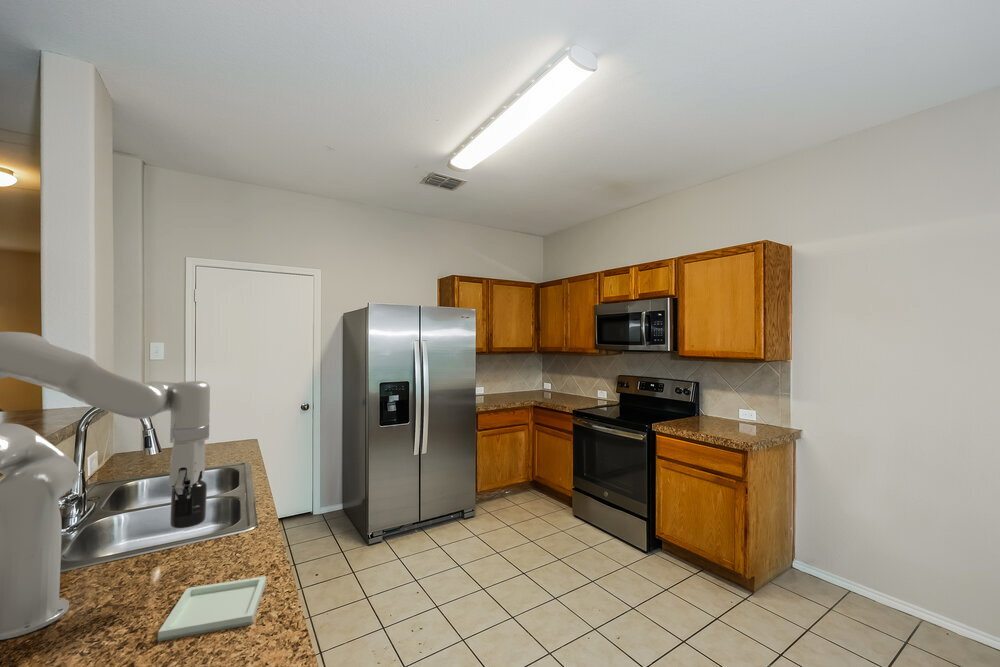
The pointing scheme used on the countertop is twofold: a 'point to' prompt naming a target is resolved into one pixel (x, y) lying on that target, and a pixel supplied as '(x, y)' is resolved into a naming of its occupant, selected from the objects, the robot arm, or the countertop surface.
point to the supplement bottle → (198, 506)
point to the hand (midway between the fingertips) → (188, 509)
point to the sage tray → (214, 608)
